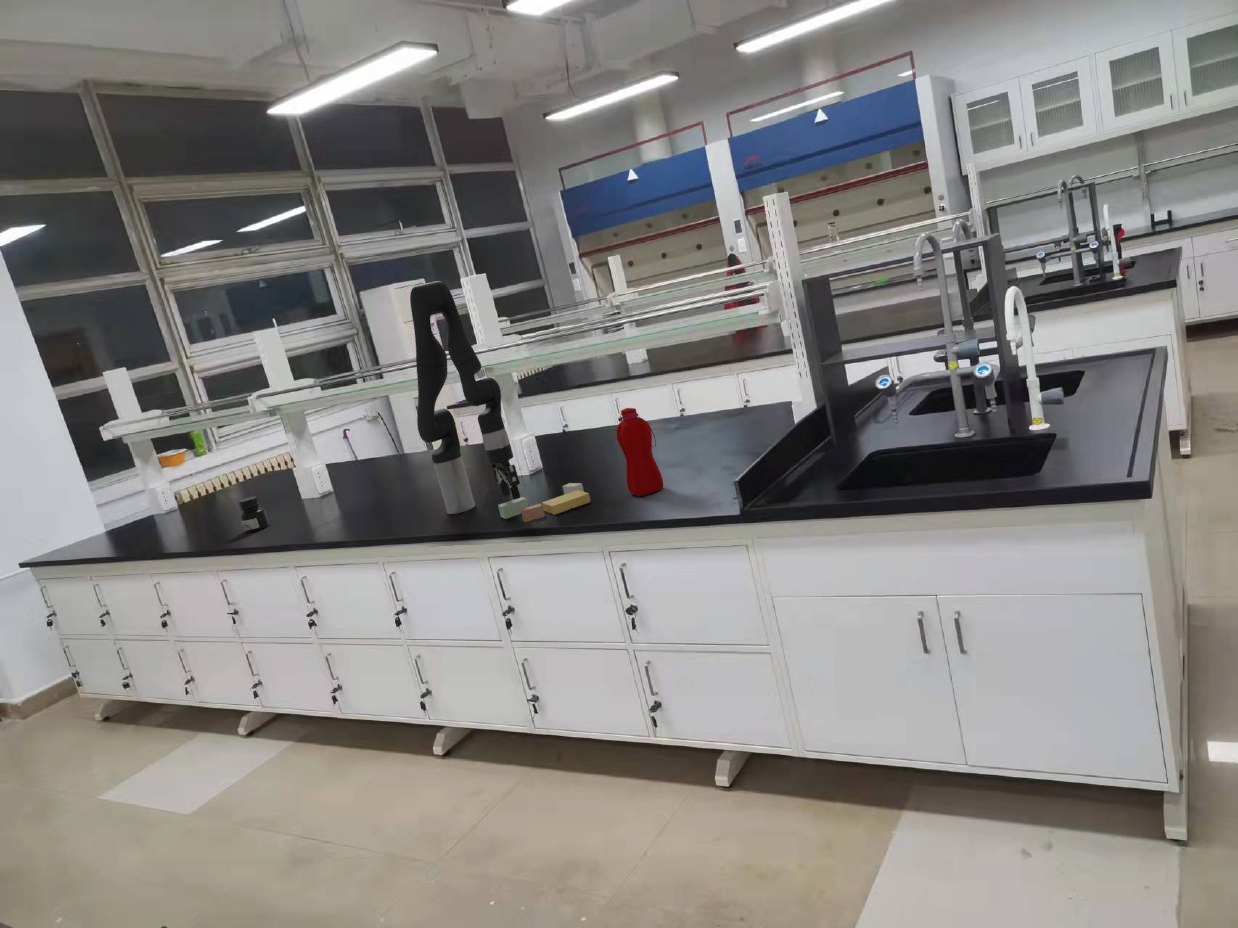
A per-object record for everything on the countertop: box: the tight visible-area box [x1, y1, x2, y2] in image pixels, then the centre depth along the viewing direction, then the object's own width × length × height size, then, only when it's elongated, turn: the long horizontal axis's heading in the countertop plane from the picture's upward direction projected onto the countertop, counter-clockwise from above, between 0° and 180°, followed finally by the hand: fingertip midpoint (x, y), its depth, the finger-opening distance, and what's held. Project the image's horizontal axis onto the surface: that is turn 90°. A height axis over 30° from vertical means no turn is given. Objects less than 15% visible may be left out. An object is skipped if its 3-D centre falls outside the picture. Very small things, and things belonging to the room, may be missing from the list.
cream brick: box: [562, 482, 585, 495], centre depth 266 cm, size 6×3×4 cm, turn 44°
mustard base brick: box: [541, 490, 591, 516], centre depth 255 cm, size 8×12×3 cm, turn 117°
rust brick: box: [520, 503, 545, 523], centre depth 250 cm, size 6×3×4 cm, turn 104°
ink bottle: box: [238, 495, 270, 533], centre depth 326 cm, size 10×9×12 cm
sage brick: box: [497, 496, 530, 520], centre depth 260 cm, size 4×8×4 cm, turn 118°
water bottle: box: [615, 407, 664, 497], centre depth 248 cm, size 9×11×25 cm
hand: (511, 497), depth 259 cm, fingers open, 8 cm apart
